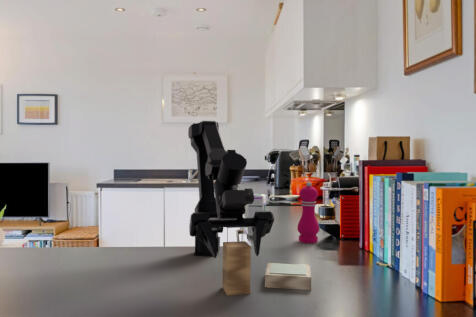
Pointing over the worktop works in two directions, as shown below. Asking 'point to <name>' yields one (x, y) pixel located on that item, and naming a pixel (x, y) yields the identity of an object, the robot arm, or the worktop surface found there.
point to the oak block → (236, 267)
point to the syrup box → (256, 208)
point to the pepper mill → (308, 215)
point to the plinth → (288, 276)
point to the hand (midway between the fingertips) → (236, 256)
